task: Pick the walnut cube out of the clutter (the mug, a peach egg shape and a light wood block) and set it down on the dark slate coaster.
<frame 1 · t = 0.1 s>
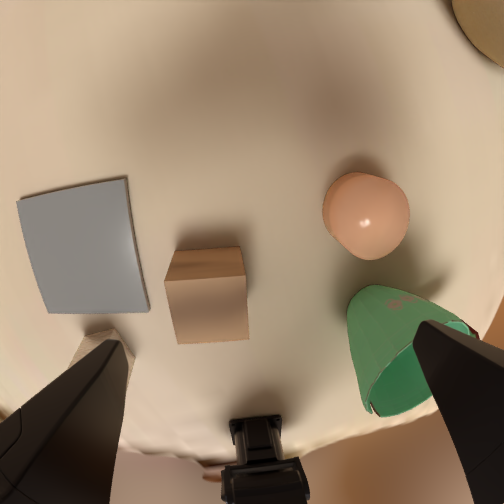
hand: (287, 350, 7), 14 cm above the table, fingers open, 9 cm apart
peach egg shape: (355, 208, 21), on the table
slate coaster: (78, 253, 20), on the table
walnut block: (210, 277, 22), on the table
flower pot: (473, 24, 14), on the table
light wood block: (109, 347, 24), on the table
mug: (387, 304, 26), on the table
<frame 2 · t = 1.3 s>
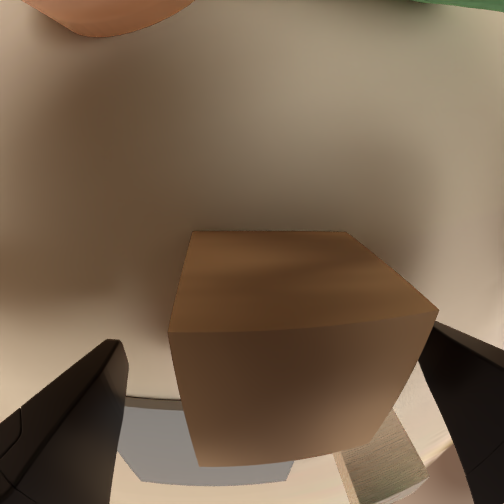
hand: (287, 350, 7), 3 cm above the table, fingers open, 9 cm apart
slate coaster: (205, 451, 13), on the table
walnut block: (268, 298, 10), on the table
light wood block: (360, 430, 15), on the table
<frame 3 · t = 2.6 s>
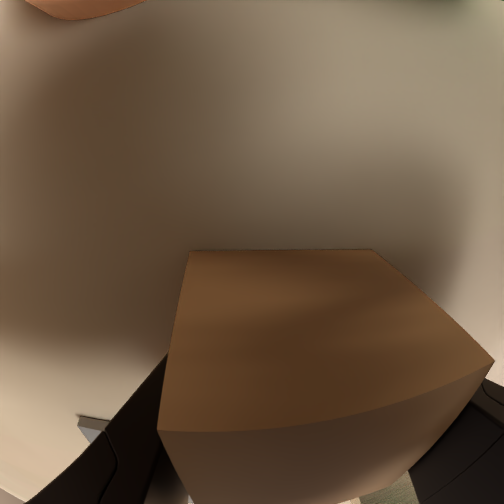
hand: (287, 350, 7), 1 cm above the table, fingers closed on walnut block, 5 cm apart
slate coaster: (207, 473, 12), on the table
walnut block: (280, 328, 8), on the table, touching gripper
light wood block: (369, 448, 13), on the table
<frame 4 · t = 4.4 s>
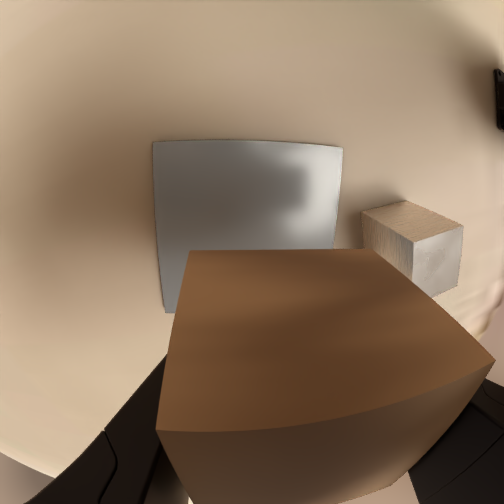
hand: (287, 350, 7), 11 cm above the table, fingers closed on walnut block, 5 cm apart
slate coaster: (247, 231, 17), on the table
walnut block: (280, 327, 8), point 10 cm above the table, touching gripper
light wood block: (386, 232, 18), on the table
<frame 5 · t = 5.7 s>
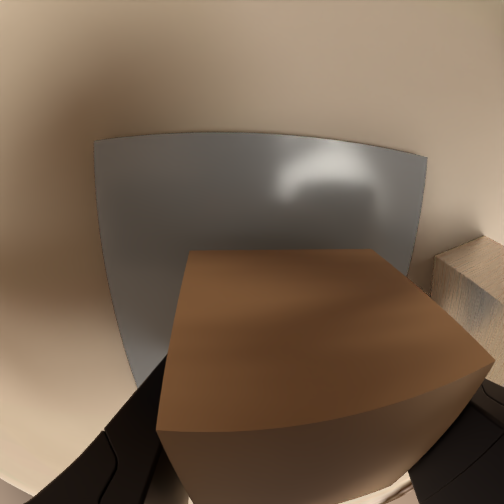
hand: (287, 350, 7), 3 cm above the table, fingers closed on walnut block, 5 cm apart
slate coaster: (267, 295, 10), on the table
walnut block: (280, 328, 8), point 2 cm above the table, touching gripper
light wood block: (457, 280, 11), on the table
when the fingers open (2 cm above the table, at t = 6.6 s): walnut block stays where it is, resting on slate coaster.
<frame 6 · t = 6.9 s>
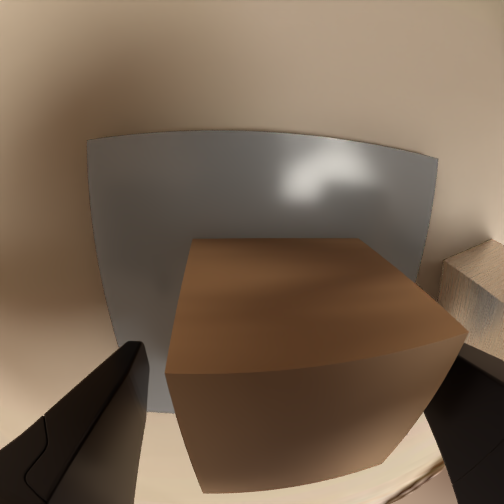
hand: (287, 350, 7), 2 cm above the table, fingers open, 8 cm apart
slate coaster: (271, 303, 9), on the table
walnut block: (275, 311, 9), point 1 cm above the table, touching slate coaster
light wood block: (464, 284, 11), on the table
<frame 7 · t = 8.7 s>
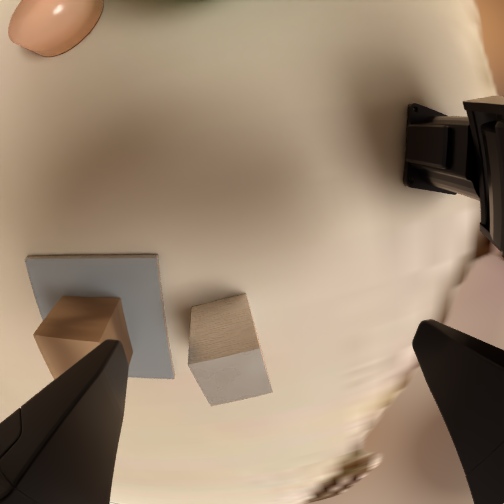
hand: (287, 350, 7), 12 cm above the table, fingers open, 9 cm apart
peach egg shape: (66, 20, 10), on the table
slate coaster: (99, 321, 19), on the table
walnut block: (97, 325, 18), point 1 cm above the table, touching slate coaster
light wood block: (225, 322, 20), on the table
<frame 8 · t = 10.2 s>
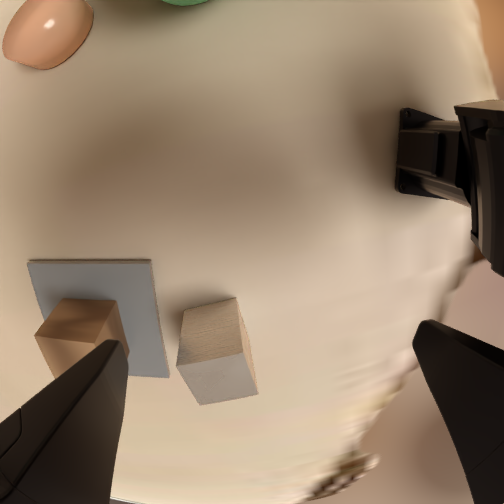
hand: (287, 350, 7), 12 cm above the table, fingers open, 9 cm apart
peach egg shape: (58, 33, 11), on the table
slate coaster: (97, 322, 20), on the table
walnut block: (95, 326, 19), point 1 cm above the table, touching slate coaster
light wood block: (217, 324, 21), on the table
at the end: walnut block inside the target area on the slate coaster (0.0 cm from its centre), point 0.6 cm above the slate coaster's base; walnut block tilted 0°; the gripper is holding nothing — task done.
